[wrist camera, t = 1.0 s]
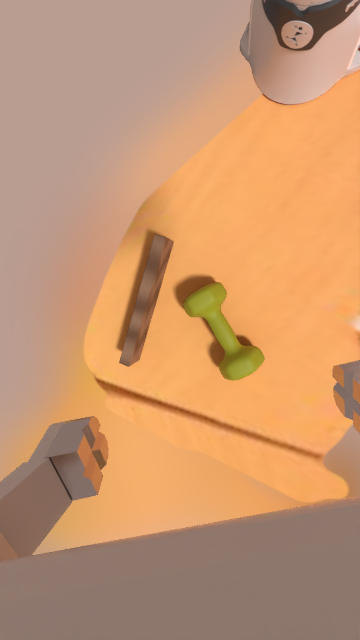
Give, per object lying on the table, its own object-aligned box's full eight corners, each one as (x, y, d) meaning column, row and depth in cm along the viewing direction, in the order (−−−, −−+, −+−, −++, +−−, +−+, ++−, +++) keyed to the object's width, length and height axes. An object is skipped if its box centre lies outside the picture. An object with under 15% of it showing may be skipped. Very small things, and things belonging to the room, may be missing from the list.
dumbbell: (184, 299, 52) (173, 302, 45) (221, 277, 50) (216, 276, 43) (227, 376, 52) (223, 390, 45) (267, 357, 49) (269, 369, 42)
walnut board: (163, 238, 51) (154, 234, 46) (173, 241, 51) (165, 237, 46) (130, 356, 56) (119, 362, 51) (139, 359, 56) (128, 366, 51)
